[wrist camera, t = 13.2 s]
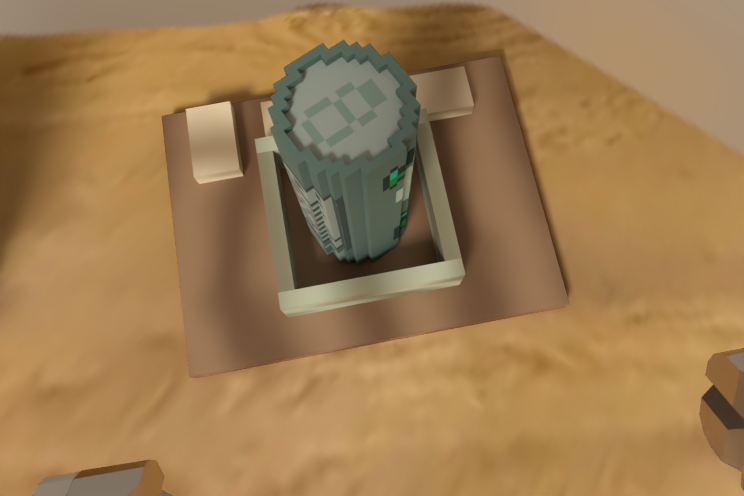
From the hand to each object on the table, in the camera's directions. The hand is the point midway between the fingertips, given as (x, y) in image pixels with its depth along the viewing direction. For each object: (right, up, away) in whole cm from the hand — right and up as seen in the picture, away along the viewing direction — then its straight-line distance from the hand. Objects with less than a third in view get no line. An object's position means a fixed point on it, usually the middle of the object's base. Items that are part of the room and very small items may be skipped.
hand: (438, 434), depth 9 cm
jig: (-2, +4, +32) cm, 32 cm away
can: (-2, +5, +31) cm, 31 cm away
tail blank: (-12, +10, +32) cm, 36 cm away
